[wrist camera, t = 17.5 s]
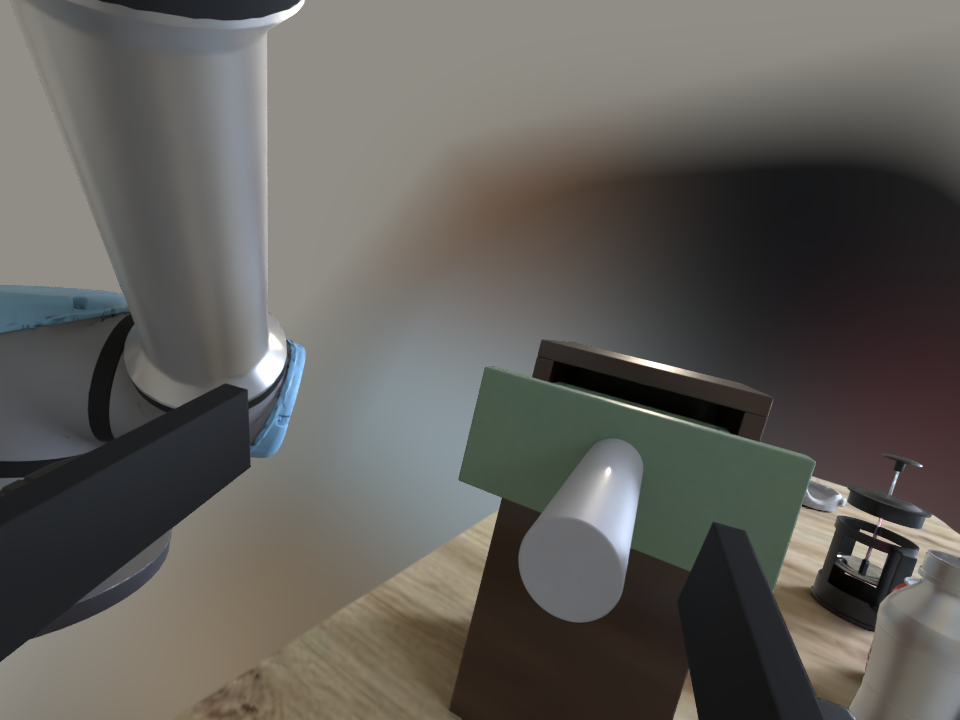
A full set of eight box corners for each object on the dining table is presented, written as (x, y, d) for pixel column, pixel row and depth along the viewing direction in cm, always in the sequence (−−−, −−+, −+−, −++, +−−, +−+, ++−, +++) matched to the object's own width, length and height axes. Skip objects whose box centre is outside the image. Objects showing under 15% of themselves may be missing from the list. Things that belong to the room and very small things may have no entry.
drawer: (524, 439, 33) (544, 360, 33) (729, 508, 28) (757, 418, 28) (310, 576, 13) (350, 378, 12) (887, 894, 8) (1003, 597, 8)
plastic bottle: (802, 748, 38) (880, 528, 36) (894, 786, 37) (982, 558, 35) (841, 829, 32) (939, 569, 30) (954, 877, 31) (1066, 608, 28)
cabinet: (501, 622, 45) (573, 342, 42) (646, 694, 40) (741, 383, 37) (448, 710, 34) (541, 339, 31) (639, 825, 29) (774, 397, 26)
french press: (794, 578, 71) (841, 438, 69) (859, 597, 70) (910, 455, 67) (841, 627, 60) (900, 462, 57) (920, 651, 58) (983, 483, 56)
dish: (849, 517, 114) (855, 498, 113) (803, 509, 111) (809, 490, 111) (799, 492, 128) (805, 475, 127) (758, 484, 125) (763, 467, 125)
